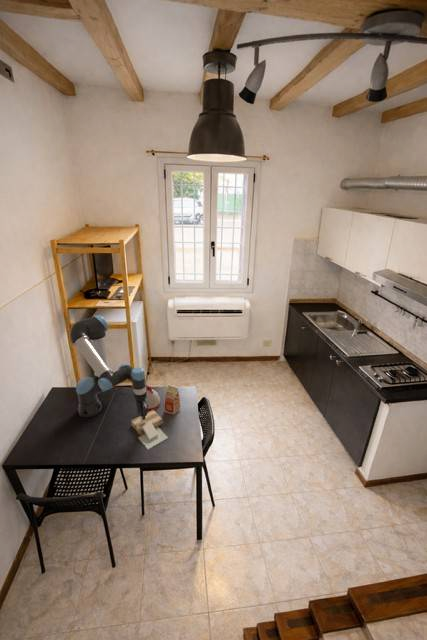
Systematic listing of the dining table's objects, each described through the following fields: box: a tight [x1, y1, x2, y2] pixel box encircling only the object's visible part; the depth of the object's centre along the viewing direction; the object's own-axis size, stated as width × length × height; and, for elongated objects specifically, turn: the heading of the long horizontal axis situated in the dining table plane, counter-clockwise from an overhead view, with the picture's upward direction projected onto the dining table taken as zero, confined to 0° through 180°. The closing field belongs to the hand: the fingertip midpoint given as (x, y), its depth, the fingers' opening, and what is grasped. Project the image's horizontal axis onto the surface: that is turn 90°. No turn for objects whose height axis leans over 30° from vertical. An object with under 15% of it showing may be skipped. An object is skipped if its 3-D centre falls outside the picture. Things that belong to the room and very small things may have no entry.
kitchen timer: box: [145, 384, 161, 411], centre depth 217 cm, size 14×14×15 cm
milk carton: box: [163, 384, 181, 415], centre depth 211 cm, size 9×9×20 cm
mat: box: [137, 426, 169, 450], centre depth 191 cm, size 12×14×1 cm
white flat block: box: [142, 422, 158, 440], centre depth 191 cm, size 9×6×2 cm, turn 41°
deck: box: [130, 409, 164, 437], centre depth 200 cm, size 12×16×4 cm
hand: (143, 422), depth 196 cm, fingers closed
